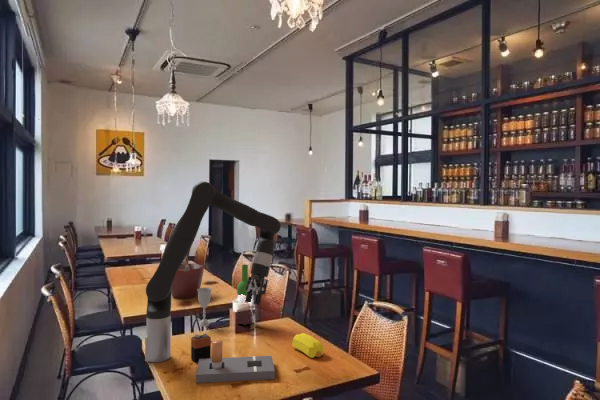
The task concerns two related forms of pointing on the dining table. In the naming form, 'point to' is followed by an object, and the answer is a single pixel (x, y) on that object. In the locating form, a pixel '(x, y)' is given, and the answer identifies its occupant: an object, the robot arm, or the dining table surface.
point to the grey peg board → (236, 369)
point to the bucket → (187, 280)
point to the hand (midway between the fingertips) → (252, 303)
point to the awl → (216, 354)
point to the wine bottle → (243, 281)
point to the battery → (200, 347)
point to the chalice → (204, 303)
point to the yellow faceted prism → (308, 345)
